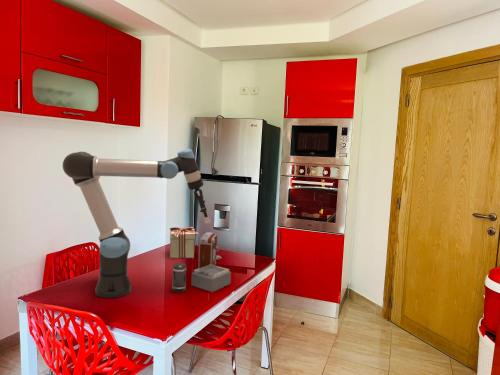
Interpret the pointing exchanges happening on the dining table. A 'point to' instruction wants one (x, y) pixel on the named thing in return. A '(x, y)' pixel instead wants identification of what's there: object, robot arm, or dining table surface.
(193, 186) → the robot arm
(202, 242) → the cine camera
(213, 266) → the square picture frame
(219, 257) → the pastry
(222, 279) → the square shallow tray
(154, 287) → the dining table surface
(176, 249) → the gift box
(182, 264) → the lens
